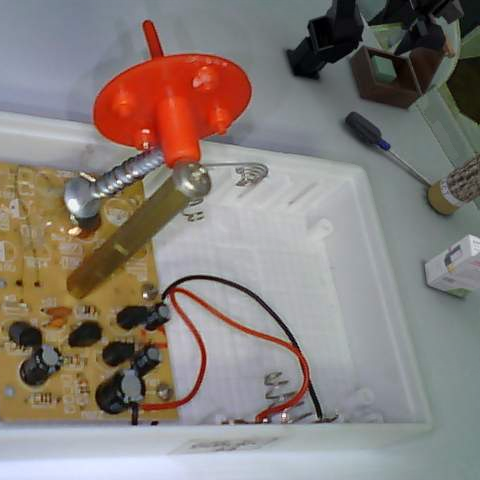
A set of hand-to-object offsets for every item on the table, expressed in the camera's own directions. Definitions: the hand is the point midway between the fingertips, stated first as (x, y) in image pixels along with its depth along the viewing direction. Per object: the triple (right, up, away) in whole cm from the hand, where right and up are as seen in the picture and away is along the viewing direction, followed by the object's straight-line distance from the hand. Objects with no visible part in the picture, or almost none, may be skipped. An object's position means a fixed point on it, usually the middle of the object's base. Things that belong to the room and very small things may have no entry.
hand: (389, 37), depth 156 cm
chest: (+2, -7, +14) cm, 15 cm away
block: (0, -6, +12) cm, 13 cm away
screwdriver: (+1, -24, +3) cm, 24 cm away
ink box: (+8, -48, -8) cm, 49 cm away
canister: (+11, -32, +3) cm, 34 cm away
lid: (+9, -2, +6) cm, 11 cm away
